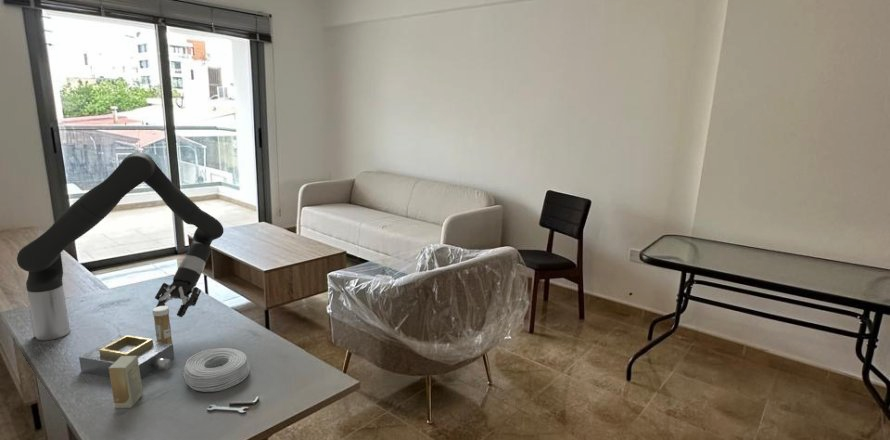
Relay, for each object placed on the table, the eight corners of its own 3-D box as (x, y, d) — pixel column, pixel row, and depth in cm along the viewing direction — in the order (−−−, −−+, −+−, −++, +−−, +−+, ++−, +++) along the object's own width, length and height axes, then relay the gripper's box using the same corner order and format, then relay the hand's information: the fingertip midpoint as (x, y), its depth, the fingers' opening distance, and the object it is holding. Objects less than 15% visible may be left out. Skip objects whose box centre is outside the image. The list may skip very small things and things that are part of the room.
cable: (180, 372, 144) (178, 354, 142) (240, 356, 154) (239, 339, 153) (191, 402, 130) (189, 382, 129) (256, 381, 141) (255, 363, 139)
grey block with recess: (81, 372, 142) (77, 350, 140) (121, 349, 155) (119, 329, 153) (149, 384, 137) (146, 362, 135) (185, 360, 150) (183, 339, 148)
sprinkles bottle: (173, 346, 158) (169, 309, 155) (157, 350, 155) (152, 312, 152) (172, 340, 162) (168, 304, 158) (156, 344, 159) (152, 306, 156)
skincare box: (127, 394, 132) (121, 354, 129) (143, 394, 132) (138, 354, 129) (113, 409, 126) (107, 367, 123) (130, 408, 126) (125, 367, 123)
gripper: (165, 264, 165) (142, 308, 157) (201, 268, 162) (180, 313, 154) (178, 273, 172) (157, 316, 163) (213, 277, 169) (193, 321, 161)
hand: (168, 314), depth 159 cm, fingers open, 8 cm apart
